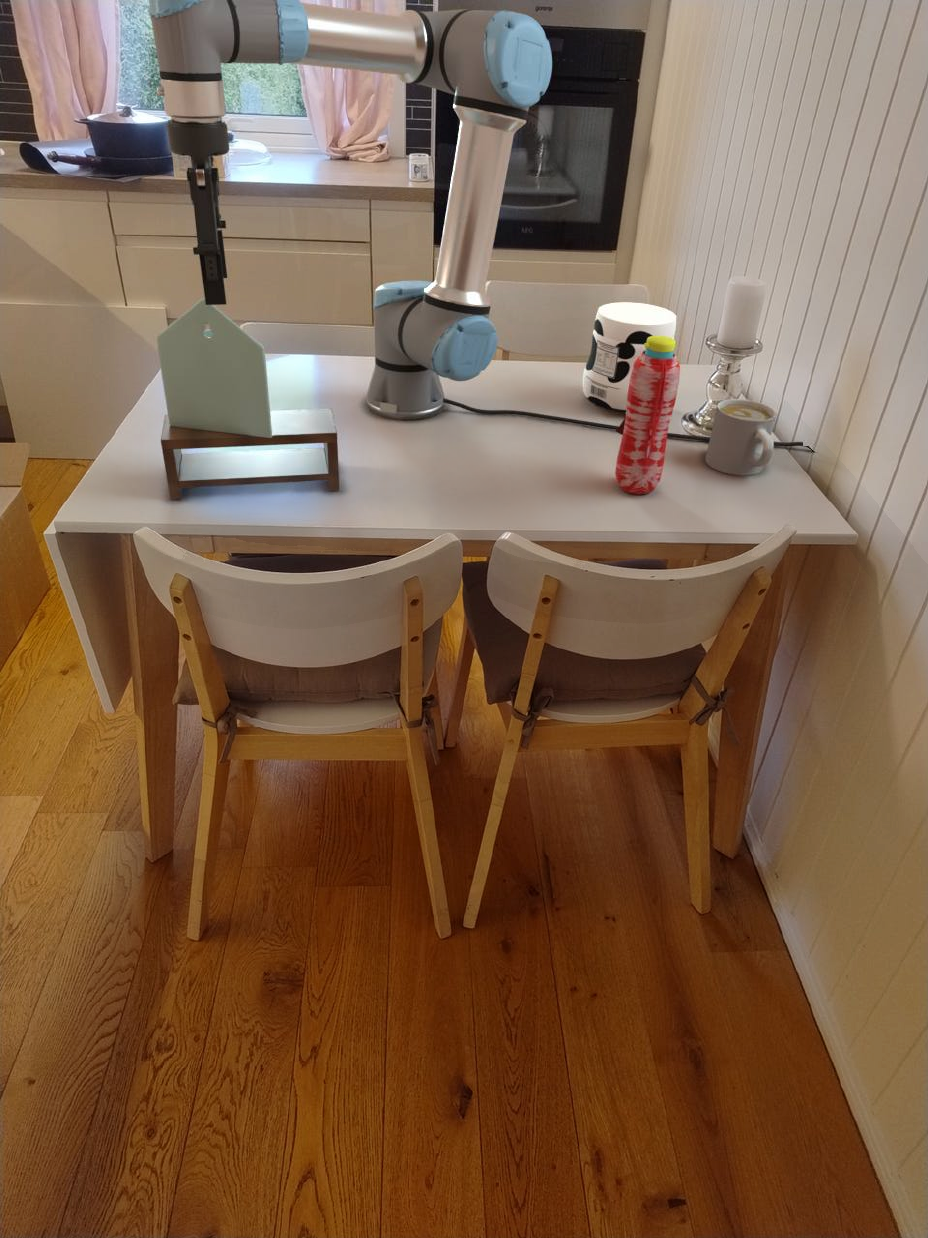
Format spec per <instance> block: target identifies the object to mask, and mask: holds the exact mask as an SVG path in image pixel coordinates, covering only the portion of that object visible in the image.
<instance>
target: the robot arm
mask: <svg viewBox="0 0 928 1238" xmlns="http://www.w3.org/2000/svg"><path fill="white" fill-rule="evenodd" d="M148 4H149V5H148V6H149V17H150V20H151V26H152V33H153V38H154V39H153V40H154V44H155V46H154V47H155V51H156V58H157V63H158V64H157V65H158V70H159V71H158V72H159V78H160V84H161V86H158V87H156V94H157V95H158V96H159V97H164V99H163V108H164V113H165V114H166V115H167V116H168V117H170V119H167V122H165V125H166V133H167V140H168V147H169V150H170V152H171V153H172V154H174V155H178V156H188V157H190V165H191V167H187V168H186V180H187V184H188V187H189V194H190V195H189V196H190V201H191V204H192V205H193V212H194V221H195V232H196V240H197V245H196V247H195V246H193V247H192V251H193V255H194V256H196V255H197V256H198V255H199V256H198V257H199V264H200V271H201V279H202V280H201V281H202V286H203V288H202V289H203V294H204V295H203V296H204V298H205V303H206V305H214V306H220V305H221V306H222V305H223V306H224V305H227V297H226V288H225V279H228V270H227V261H226V253H225V244H224V237H223V230H224V229H225V230H226V229H227V222H226V220H224V219H223V220H222V215H221V213H220V207H219V206H220V205H219V202H220V201H219V196H220V188H219V187H220V175H219V168H218V167H214V157H219V156H224V155H226V154H228V153H229V151H230V140H229V133H228V132H229V131H228V124H227V123H226V121H225V120H223V117H224V118H225V116H226V115H227V108H226V100H225V99H226V98H225V89H224V80H223V73H222V64H256V65H257V64H263V65H264V64H266V65H267V64H270V65H272V64H274V65H275V64H278V66H282V65H284V64H290V65H291V64H292V65H302V66H312V67H320V68H330V69H331V68H332V69H338V70H339V69H340V70H351V71H359V72H369V73H370V72H371V73H379V74H389V75H396V77H397V78H398V79H399V80H400V81H401V82H402V83H405V84H415V85H420V86H424V87H428V88H432V89H435V90H438V91H442V92H444V93H447V94H450V95H454V98H453V105H452V108H453V110H454V112H455V113H456V115H457V117H458V119H459V130H458V135H457V136H458V137H457V142H456V143H457V144H456V149H455V154H454V161H453V168H452V174H451V180H450V187H449V192H448V198H447V205H446V211H445V217H444V222H443V223H444V224H443V230H442V237H441V242H440V247H439V254H438V260H437V266H436V273H435V279H434V281H427V280H401V281H400V280H399V281H392V282H391V281H390V282H386V283H383V284H381V285H379V286H378V287H377V288H376V289H375V291H374V297H373V306H372V309H373V318H374V319H373V321H374V324H373V325H374V367H373V371H372V375H371V378H370V381H369V384H368V388H367V391H366V396H365V403H366V404H365V405H366V408H367V409H368V411H369V412H371V413H373V414H375V415H377V416H380V417H382V418H387V419H393V420H398V421H399V420H401V421H414V420H415V421H416V420H424V419H428V418H432V417H435V416H437V415H438V414H441V413H442V411H443V410H444V409H445V404H448V405H451V406H454V407H458V408H461V409H464V410H466V411H469V412H472V413H475V414H482V415H516V416H524V417H530V418H531V417H532V418H536V419H537V418H538V419H543V420H551V421H556V422H557V421H558V422H562V423H563V422H564V423H570V424H577V425H581V426H589V427H595V428H601V429H607V430H615V431H616V430H617V429H618V427H619V426H620V425H613V424H607V423H599V422H593V421H587V420H581V419H575V418H568V417H563V416H557V415H550V414H542V413H537V412H530V411H524V410H514V409H513V410H512V409H493V410H492V409H481V408H475V407H472V406H469V405H466V404H464V403H461V402H458V401H455V400H451V399H448V398H446V397H445V393H444V390H443V386H442V383H441V377H442V378H445V379H448V380H451V381H455V382H467V381H470V380H472V379H474V378H476V377H477V376H479V375H480V374H481V372H482V371H485V370H486V369H487V368H488V366H489V365H490V363H491V362H492V360H493V358H494V356H495V354H496V351H497V347H498V339H499V338H498V331H497V330H496V329H495V325H494V323H492V321H491V320H490V319H489V317H490V312H491V307H492V302H491V300H490V298H489V296H488V295H487V293H486V285H487V279H488V275H489V269H490V266H491V259H492V254H493V249H494V243H495V238H496V232H497V227H498V221H499V216H500V210H501V205H502V201H503V195H504V189H505V183H506V180H507V179H506V178H507V173H508V167H509V164H510V163H509V162H510V157H511V152H512V147H513V142H514V141H513V140H514V137H515V136H514V135H515V134H516V132H517V131H518V130H519V129H521V128H522V127H523V126H525V125H526V123H527V120H528V115H529V114H528V113H529V109H530V107H532V106H533V105H535V104H537V103H538V102H539V101H540V99H541V97H542V96H544V95H545V93H546V91H547V90H548V87H549V85H550V82H551V78H552V72H553V71H552V70H553V57H552V49H551V45H550V41H549V39H547V36H546V33H545V30H544V29H543V27H542V25H540V24H539V22H538V21H537V20H536V19H534V18H533V17H531V16H529V15H527V14H525V13H520V12H515V11H514V10H511V11H510V10H506V9H504V10H488V9H487V10H486V9H484V10H481V9H470V8H469V9H467V8H464V9H463V8H462V9H451V10H439V11H435V10H434V11H423V10H422V11H420V10H415V9H414V10H413V9H406V10H404V11H403V12H401V14H400V15H392V14H385V13H378V12H371V11H363V10H357V9H349V8H342V7H336V6H327V5H321V4H316V3H315V4H314V3H309V2H308V3H307V2H301V0H148ZM667 438H671V439H672V438H673V439H682V440H691V441H702V442H709V440H710V436H701V435H691V434H682V433H681V434H680V433H674V432H673V433H672V432H668V433H667ZM803 442H804V441H790V442H788V441H785V442H783V441H773V443H774V447H785V448H786V447H789V448H790V447H805V448H807V449H809V450H810V451H811V452H812V453H815V452H814V451H813V450H812V449H811V448H810V447H809V446H803Z"/></svg>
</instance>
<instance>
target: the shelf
mask: <svg viewBox="0 0 928 1238" xmlns="http://www.w3.org/2000/svg"><path fill="white" fill-rule="evenodd" d="M270 415H271V426H272V438H266V437H257V436H249V435H240V434H232V433H223V432H214V431H206V430H197V429H189V428H180V427H172V426H170V424H169V418H168V413H166V414H164V420H163V426H162V431H161V436H160V446H161V451H162V457H163V458H162V459H163V463H164V469H165V475H166V476H165V477H166V483H167V486H168V487H167V488H168V493H169V498H170V501H181V500H182V497H183V489H188V488H190V489H191V488H208V487H209V488H210V487H225V486H226V487H227V486H228V487H229V486H245V485H247V486H249V485H267V484H286V483H289V484H290V483H306V482H307V483H308V482H324V481H325V482H326V481H327V486H328V490H329V492H330V493H332V492H333V493H334V492H340V490H341V489H340V468H339V446H338V431H337V425H336V422H335V416H334V412H333V408H306V409H305V408H303V409H279V410H275V409H274V410H270ZM307 444H308V445H309V444H323V447H309V448H285V449H283V448H282V449H265V450H261V449H260V450H241V451H240V450H239V451H238V450H237V451H220V452H219V451H217V452H216V451H215V452H194V453H193V452H192V453H183V452H182V450H191V449H192V450H194V449H216V448H217V449H219V448H237V447H239V448H240V447H259V446H260V447H261V446H284V445H287V446H288V445H307Z"/></svg>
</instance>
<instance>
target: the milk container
mask: <svg viewBox="0 0 928 1238" xmlns="http://www.w3.org/2000/svg"><path fill="white" fill-rule="evenodd" d="M593 326H594V327H593V331H592V338H591V348H590V354H589V357H588V360H587V362H586V364H585V366H584V369H583V374H582V391H583V395H584V397H585V398H586V400H588V401H589V402H590V403H592V404H593V405H594V406H596V407H598V408H601V409H604V410H608V411H612V412H617V413H623V414H626V406H627V394H628V388H629V382H630V377H631V374H632V370H633V365H634V362H635V361H636V360H637V358H638V357H639V356H640V355H641V354H642V352H643V351H645V350H646V348H645V347H644V343H646V342H647V338H648V337H650V336H659V335H660V336H667V337H670V338H673V339H674V340H675V334H676V328H677V315H676V314H675V313H674V312H673V311H671V310H669V309H667V308H665V307H661V306H658V305H654V304H649V303H642V302H629V301H621V302H619V301H618V302H611V303H605V304H603V305H600V306H599V307H598V309H597V312H596V314H595V319H594V325H593Z"/></svg>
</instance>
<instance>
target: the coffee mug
mask: <svg viewBox="0 0 928 1238" xmlns="http://www.w3.org/2000/svg"><path fill="white" fill-rule="evenodd" d="M776 418H777V411H776V410H775V409H774V408H773V407H771V406H770V405H767V404H765V403H762V402H759V401H756V400H752V399H744V398H730V399H729V398H728V399H724V400H721V401H720V402H718V404H717V406H716V410H715V414H714V419H713V423H712V427H711V431H710V436H709V437H710V440H709V441H708V445H707V450H706V455H705V462H706V464H707V465H708V466H709V467H710V468H712V469H714V470H716V471H718V472H721V473H723V474H728V475H732V476H752V475H756V474H759V473H760V472H761V471H762V470H763V468H764V467H765V466H767V465H768V464H769V463H770V461H771V459H772V456H773V453H774V448H775V446H774V443H773V442H774V439H773V437H772V433H773V429H774V426H775V422H776Z"/></svg>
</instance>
